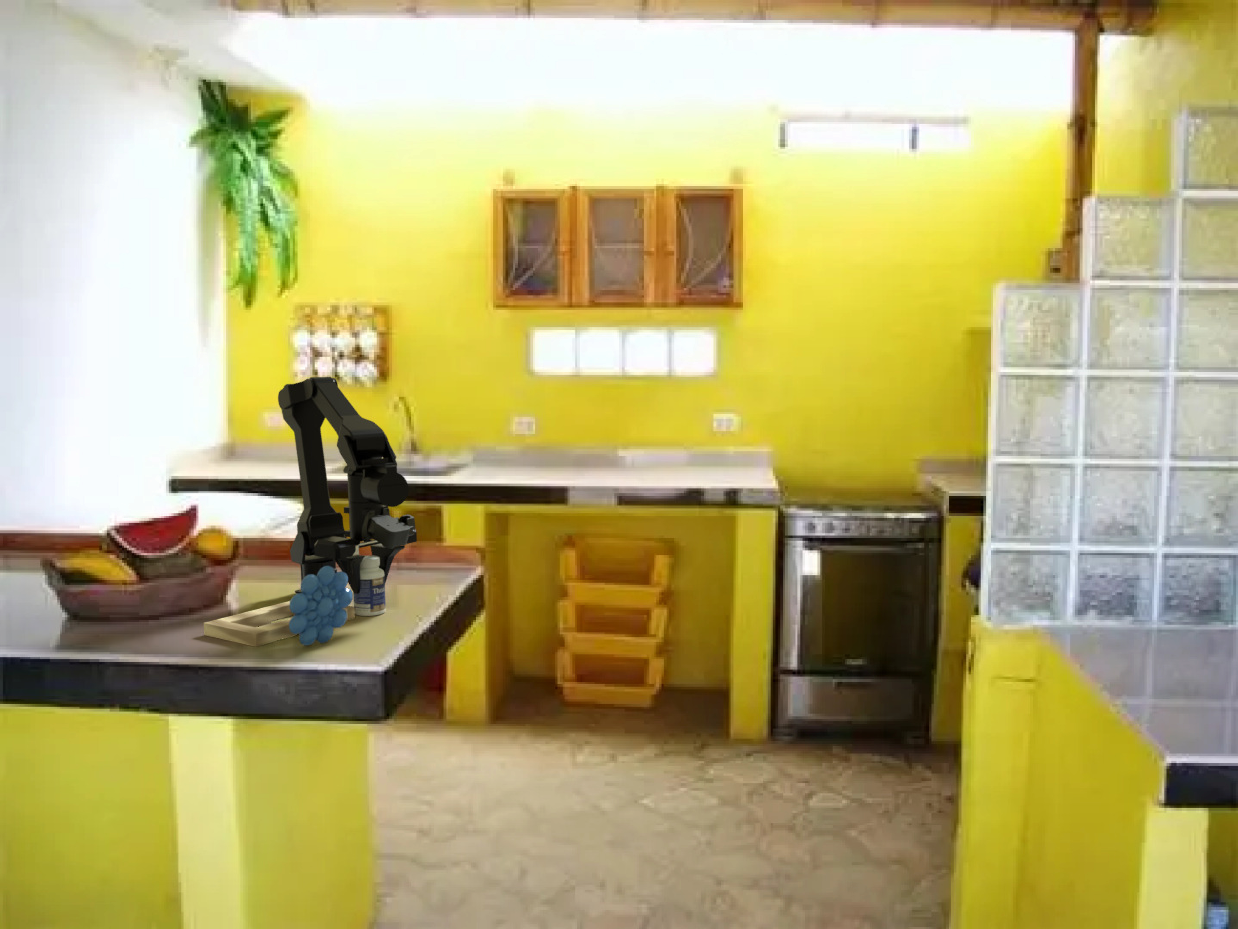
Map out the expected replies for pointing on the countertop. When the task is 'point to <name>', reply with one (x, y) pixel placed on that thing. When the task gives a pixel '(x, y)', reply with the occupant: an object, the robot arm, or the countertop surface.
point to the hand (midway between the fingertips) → (369, 590)
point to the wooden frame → (245, 623)
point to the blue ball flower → (320, 606)
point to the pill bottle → (370, 588)
